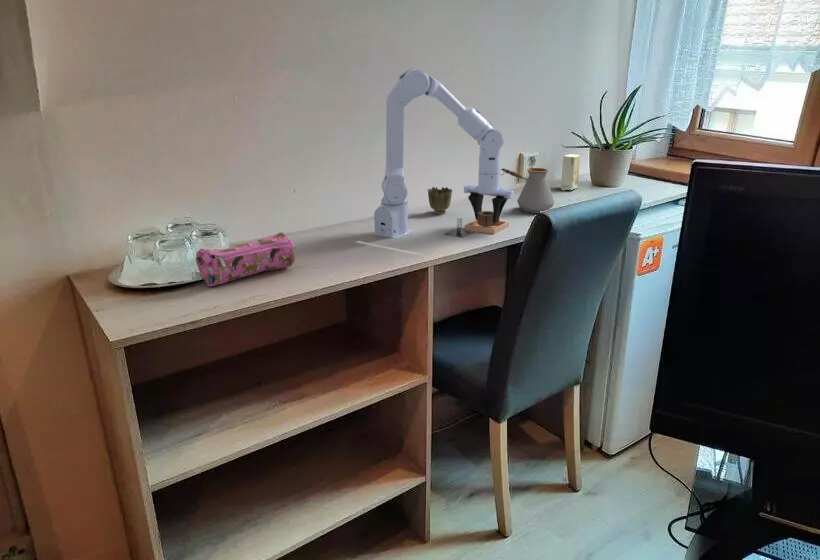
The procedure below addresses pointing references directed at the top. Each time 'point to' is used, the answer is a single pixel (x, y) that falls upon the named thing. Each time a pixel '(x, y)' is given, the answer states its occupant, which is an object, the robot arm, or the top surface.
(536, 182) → the coffee pot
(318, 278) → the top surface
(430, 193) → the cup
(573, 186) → the skincare box
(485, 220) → the ring
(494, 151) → the robot arm
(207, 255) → the pencil case
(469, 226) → the dish
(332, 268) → the top surface
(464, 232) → the stand
